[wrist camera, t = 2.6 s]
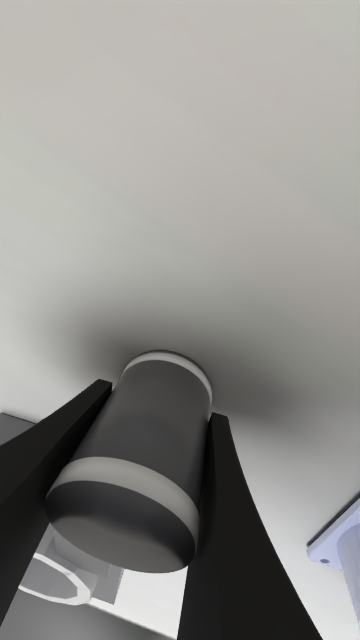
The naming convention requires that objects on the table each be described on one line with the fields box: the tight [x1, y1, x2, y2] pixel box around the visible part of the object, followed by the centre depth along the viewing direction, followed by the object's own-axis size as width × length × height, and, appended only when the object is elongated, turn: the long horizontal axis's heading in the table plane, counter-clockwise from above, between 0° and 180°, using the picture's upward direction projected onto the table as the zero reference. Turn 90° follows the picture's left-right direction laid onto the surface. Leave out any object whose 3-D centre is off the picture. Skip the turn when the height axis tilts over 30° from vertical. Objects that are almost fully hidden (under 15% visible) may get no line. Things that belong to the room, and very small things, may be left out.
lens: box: [45, 350, 212, 573], centre depth 10 cm, size 4×4×6 cm
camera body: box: [0, 413, 124, 605], centre depth 17 cm, size 10×14×4 cm
